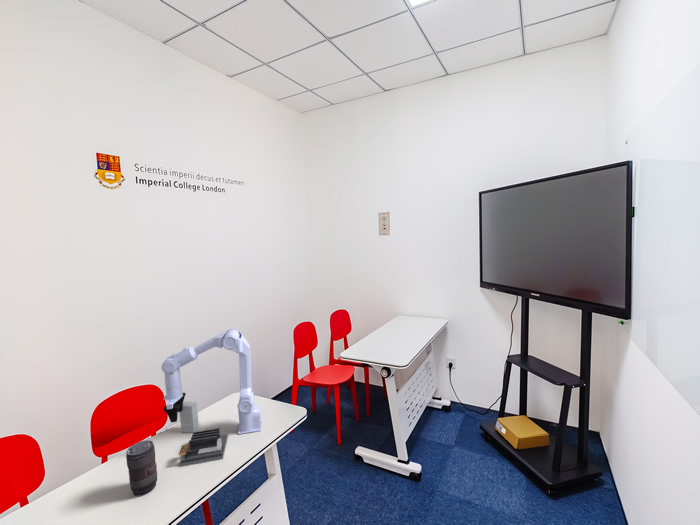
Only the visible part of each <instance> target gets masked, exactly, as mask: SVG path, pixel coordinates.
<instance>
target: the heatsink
mask: <svg viewBox="0 0 700 525" xmlns="http://www.w3.org/2000/svg"><path fill="white" fill-rule="evenodd" d="M192 433H193V434H192V435H191V437H190V439H189V440H188V442H187V444H183V445H181V447H180V450H179V452H178V456H179V457H180V462H179V467H186V466H187V467H188V466H191V465H196V464H197V465H198V464H202V463H207V462H214V461H218V460H219V461H220V460H224V456H225V451H226V447H227V444H228V443H227V442H228V439H229V434H228V433H225V434H221V433H220V428H219V427H216V428H211V429H205V430H199V431H198V430H196V431H195V432H192ZM220 438H221V442H222V451H220V452H214V453H209V454H203V455H198V452H199V449H204V448H210V447H216V446H217V440H218V439H220Z"/></svg>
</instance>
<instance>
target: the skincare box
mask: <svg viewBox="0 0 700 525" xmlns="http://www.w3.org/2000/svg"><path fill="white" fill-rule="evenodd" d="M198 410H199V409H198V402H197V401H194V400H193V401H189V400H188V401H183V408H182V412H179V421H180V422H179V424H180V432H181V433H193V432H197V431H198V429H199V428H200V422H199V413H198Z"/></svg>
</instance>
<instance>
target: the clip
mask: <svg viewBox="0 0 700 525" xmlns="http://www.w3.org/2000/svg"><path fill="white" fill-rule="evenodd" d="M220 451H222V442H221V438H220V439H218V440H217V446H216V447H210V448H204V449H199V452H198V455H203V454H209V453H214V452H220Z"/></svg>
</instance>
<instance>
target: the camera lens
mask: <svg viewBox="0 0 700 525" xmlns="http://www.w3.org/2000/svg"><path fill="white" fill-rule="evenodd" d="M155 448H156V447H155V445H154V442H153V441H152V440H147V439H146V440H142V441H141V440H140V441H138V442H136V443H134V444H133V445H131V446H129V447H128V449H127V450H126V454H125V455H126V456H125V459H126V466H127V470H128V477H129V479H128V480H129V486H130V490H131V492H132V494H133V495H134V496H136V497H142V496H145V495H148V494H149V493H151V492H152V491H153V490H154V489H155V488H156V485H157V481H158V470H157V462H156V461H157V460H156V449H155Z"/></svg>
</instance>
